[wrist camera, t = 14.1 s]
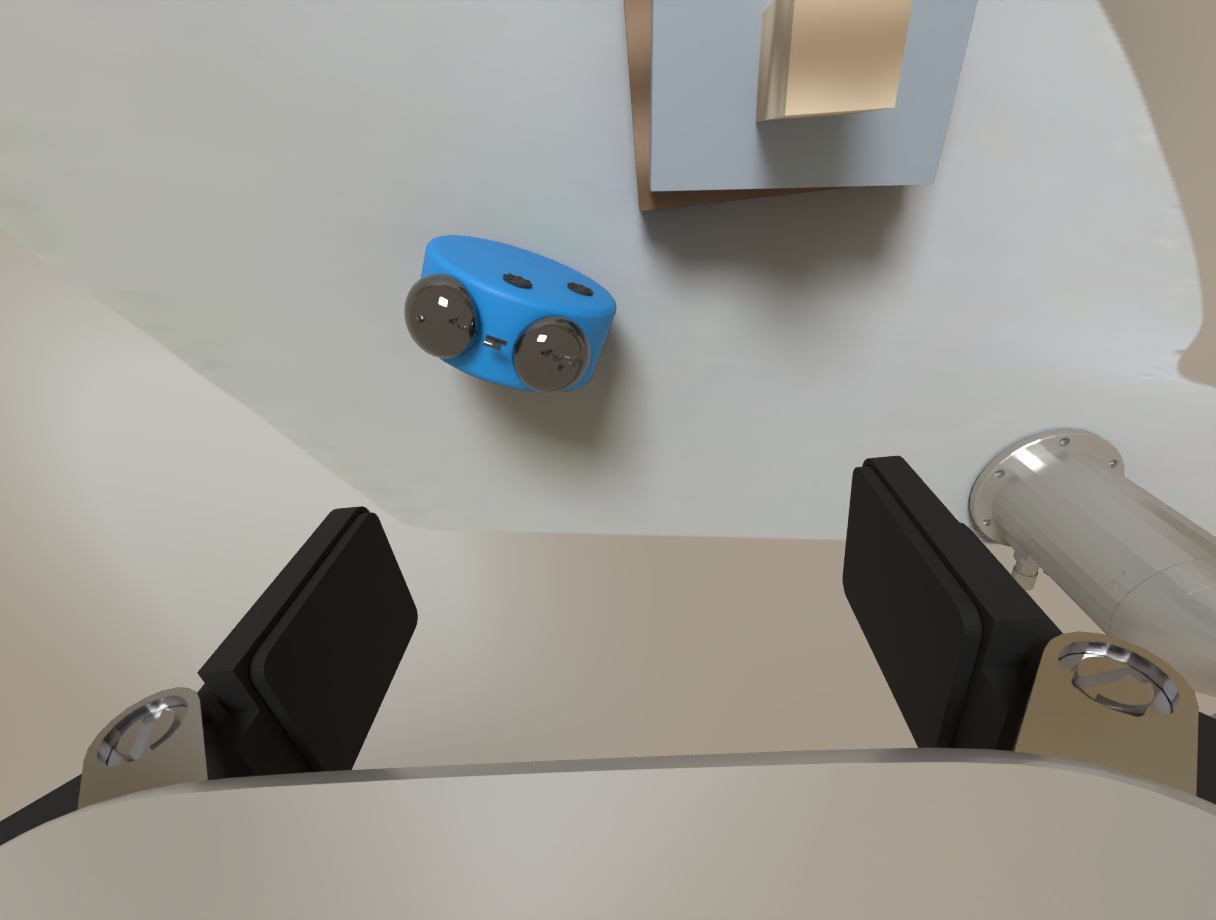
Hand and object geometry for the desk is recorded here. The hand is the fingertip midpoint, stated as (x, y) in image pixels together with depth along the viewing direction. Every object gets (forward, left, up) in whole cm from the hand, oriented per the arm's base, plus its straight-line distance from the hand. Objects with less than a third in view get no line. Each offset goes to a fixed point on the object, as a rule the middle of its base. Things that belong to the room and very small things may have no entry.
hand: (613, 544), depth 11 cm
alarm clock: (-2, +8, -36) cm, 37 cm away
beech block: (+9, -11, -29) cm, 32 cm away
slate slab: (+9, -11, -33) cm, 36 cm away
